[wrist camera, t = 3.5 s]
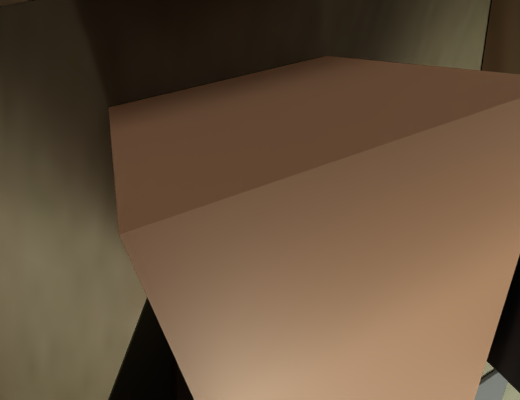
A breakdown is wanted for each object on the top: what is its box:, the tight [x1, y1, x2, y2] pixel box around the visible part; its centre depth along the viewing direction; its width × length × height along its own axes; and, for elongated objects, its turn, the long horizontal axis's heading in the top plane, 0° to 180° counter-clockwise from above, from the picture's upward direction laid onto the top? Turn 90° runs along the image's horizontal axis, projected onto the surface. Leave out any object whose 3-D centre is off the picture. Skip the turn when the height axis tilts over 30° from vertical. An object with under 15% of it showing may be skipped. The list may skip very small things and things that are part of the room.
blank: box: [109, 56, 520, 400], centre depth 7 cm, size 5×8×5 cm, turn 9°
